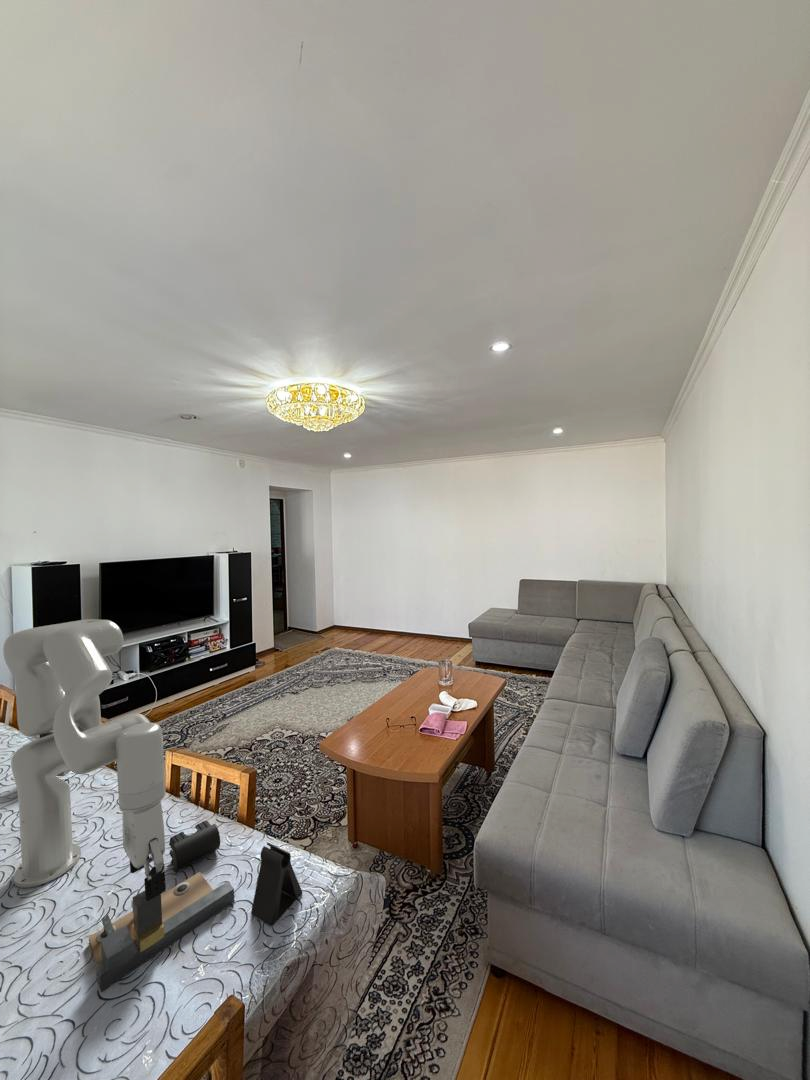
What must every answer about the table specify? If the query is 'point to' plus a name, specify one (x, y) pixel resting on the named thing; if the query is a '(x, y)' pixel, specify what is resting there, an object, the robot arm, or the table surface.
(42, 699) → the robot arm
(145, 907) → the block
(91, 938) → the plate
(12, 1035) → the table surface
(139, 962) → the rail
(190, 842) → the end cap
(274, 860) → the black triangular stand
